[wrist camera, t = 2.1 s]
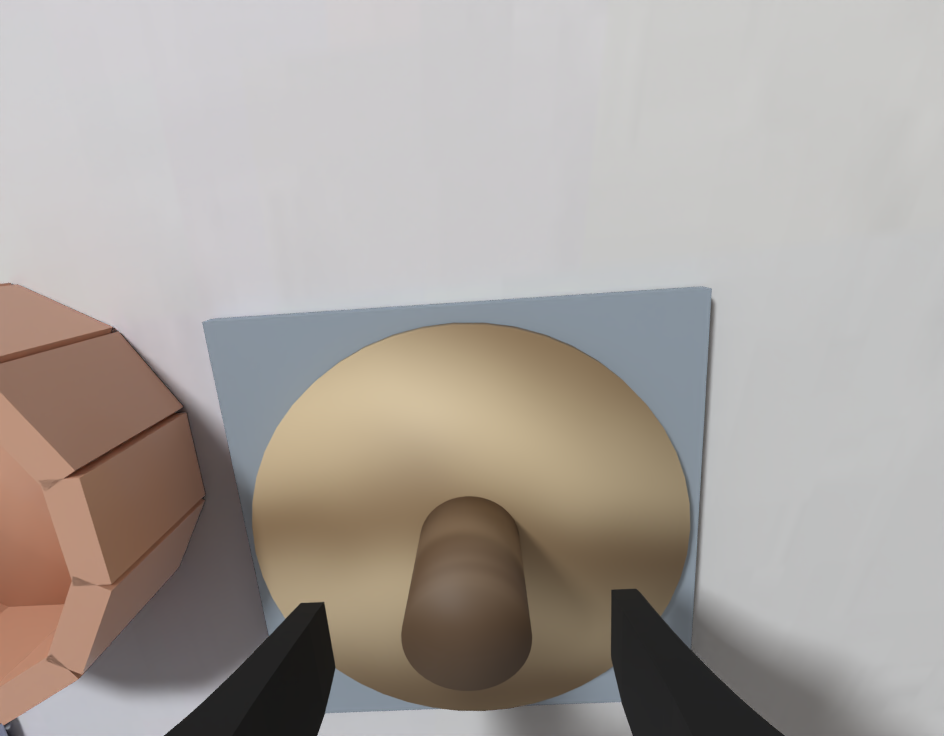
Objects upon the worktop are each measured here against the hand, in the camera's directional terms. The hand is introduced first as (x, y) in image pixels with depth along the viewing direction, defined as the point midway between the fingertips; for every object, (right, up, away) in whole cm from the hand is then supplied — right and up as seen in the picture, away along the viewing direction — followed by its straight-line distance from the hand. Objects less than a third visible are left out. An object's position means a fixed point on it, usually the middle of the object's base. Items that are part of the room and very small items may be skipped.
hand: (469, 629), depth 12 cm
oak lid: (0, +1, +4) cm, 4 cm away
